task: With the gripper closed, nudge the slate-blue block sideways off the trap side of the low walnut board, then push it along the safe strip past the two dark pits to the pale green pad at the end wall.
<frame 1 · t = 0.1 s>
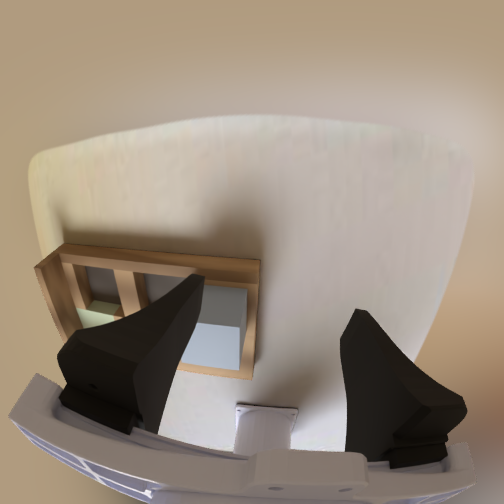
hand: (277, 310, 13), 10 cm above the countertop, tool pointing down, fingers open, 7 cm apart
block: (219, 308, 24), point 2 cm above the countertop, touching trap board
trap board: (155, 309, 27), on the countertop
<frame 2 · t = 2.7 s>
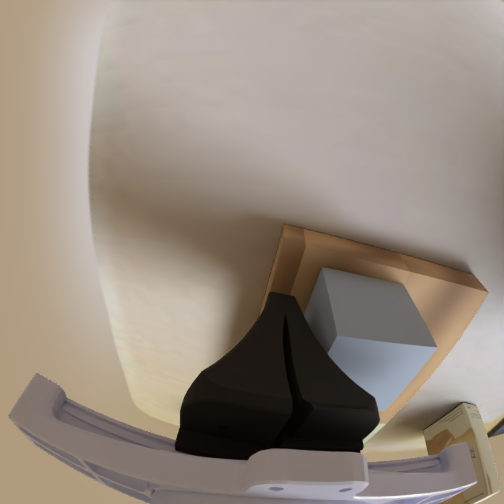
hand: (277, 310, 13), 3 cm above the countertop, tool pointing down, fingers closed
block: (348, 312, 14), point 2 cm above the countertop, touching gripper, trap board
skincare box: (449, 417, 23), on the countertop
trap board: (334, 372, 19), on the countertop
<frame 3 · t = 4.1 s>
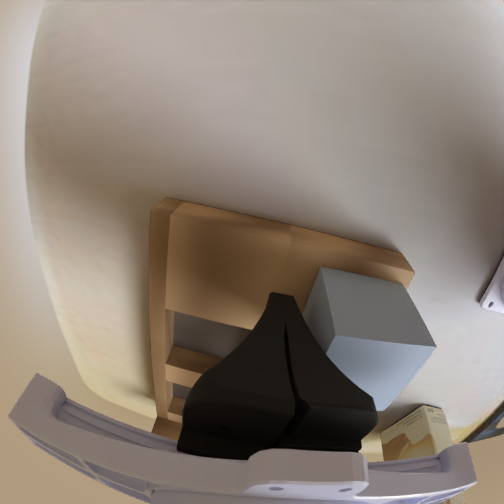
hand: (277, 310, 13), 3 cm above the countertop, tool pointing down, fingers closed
block: (347, 312, 14), point 2 cm above the countertop, touching gripper, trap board
skincare box: (410, 420, 23), on the countertop
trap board: (251, 357, 19), on the countertop
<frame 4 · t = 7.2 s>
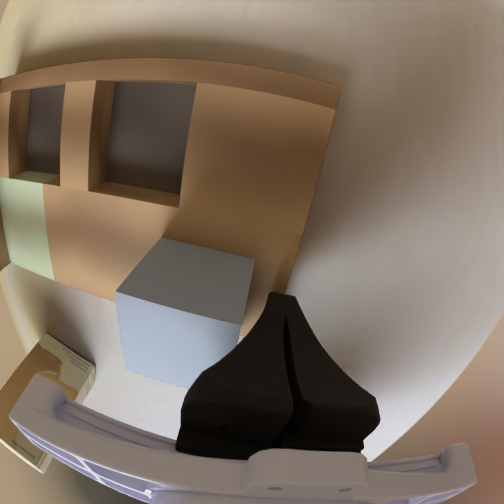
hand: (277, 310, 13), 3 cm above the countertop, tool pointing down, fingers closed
block: (201, 287, 14), point 2 cm above the countertop, touching gripper
skincare box: (69, 357, 23), on the countertop
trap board: (115, 182, 14), on the countertop
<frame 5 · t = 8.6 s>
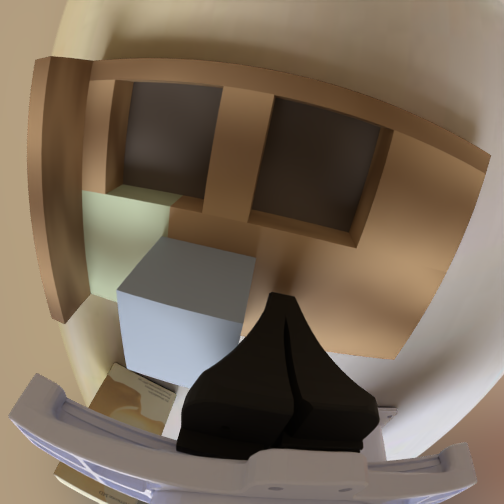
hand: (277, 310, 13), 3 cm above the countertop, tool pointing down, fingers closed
block: (202, 286, 14), point 2 cm above the countertop, touching gripper
skincare box: (140, 385, 23), on the countertop
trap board: (261, 210, 14), on the countertop
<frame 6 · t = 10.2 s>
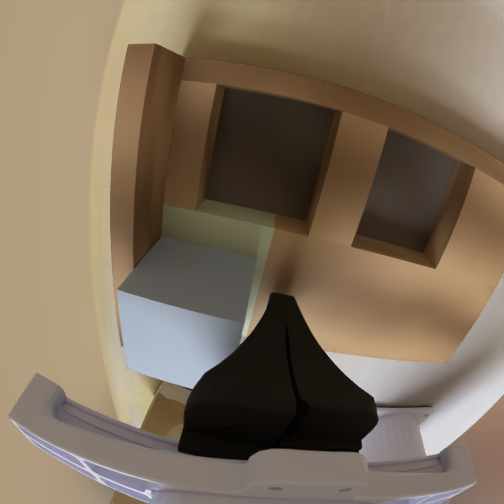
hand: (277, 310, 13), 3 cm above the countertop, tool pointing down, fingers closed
block: (202, 286, 14), point 2 cm above the countertop, touching gripper, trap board
skincare box: (189, 399, 23), on the countertop
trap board: (351, 231, 14), on the countertop
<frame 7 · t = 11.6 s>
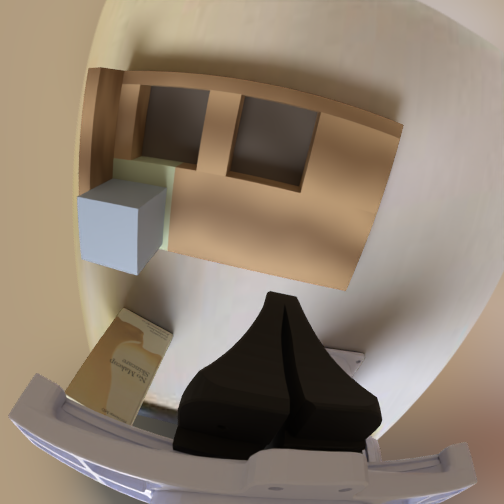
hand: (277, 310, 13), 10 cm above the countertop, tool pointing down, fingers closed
block: (137, 211, 20), point 2 cm above the countertop, touching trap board
skincare box: (143, 330, 29), on the countertop
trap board: (237, 171, 20), on the countertop
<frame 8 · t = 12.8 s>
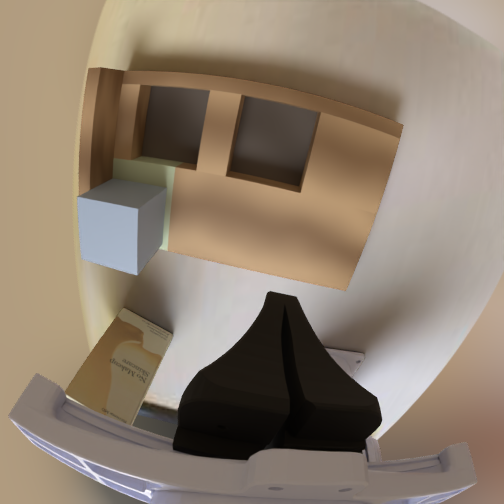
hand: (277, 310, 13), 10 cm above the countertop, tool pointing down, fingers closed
block: (137, 211, 20), point 2 cm above the countertop, touching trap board
skincare box: (143, 330, 29), on the countertop
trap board: (237, 171, 20), on the countertop
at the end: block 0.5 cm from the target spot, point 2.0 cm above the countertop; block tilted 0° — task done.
